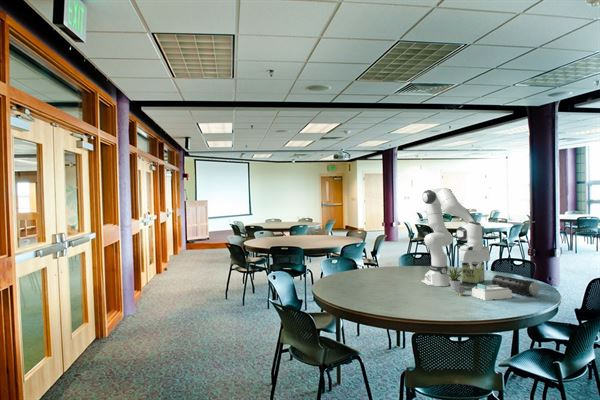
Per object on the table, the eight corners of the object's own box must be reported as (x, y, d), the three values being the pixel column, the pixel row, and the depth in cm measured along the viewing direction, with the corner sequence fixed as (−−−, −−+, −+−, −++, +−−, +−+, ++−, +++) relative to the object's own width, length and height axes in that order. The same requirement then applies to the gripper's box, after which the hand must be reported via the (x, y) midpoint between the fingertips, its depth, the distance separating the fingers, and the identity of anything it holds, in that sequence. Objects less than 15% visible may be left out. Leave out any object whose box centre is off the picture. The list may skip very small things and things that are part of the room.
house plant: (469, 292, 264) (468, 268, 264) (447, 291, 267) (447, 267, 267) (464, 287, 278) (464, 264, 278) (444, 286, 281) (443, 264, 281)
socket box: (472, 295, 253) (471, 286, 253) (497, 293, 258) (497, 284, 258) (485, 300, 242) (484, 290, 242) (511, 298, 247) (511, 288, 247)
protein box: (461, 283, 292) (461, 262, 292) (471, 280, 302) (470, 260, 302) (475, 285, 284) (475, 264, 284) (484, 282, 294) (484, 261, 294)
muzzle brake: (501, 288, 274) (500, 273, 274) (540, 297, 249) (539, 281, 249) (491, 289, 270) (491, 275, 270) (530, 298, 244) (530, 282, 244)
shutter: (477, 288, 251) (477, 283, 251) (487, 287, 253) (487, 282, 253) (485, 291, 245) (485, 285, 245) (495, 290, 246) (495, 285, 246)
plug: (455, 294, 257) (455, 285, 257) (460, 294, 258) (460, 285, 258) (459, 296, 253) (459, 286, 253) (464, 295, 254) (464, 286, 254)
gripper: (485, 245, 253) (485, 266, 253) (458, 247, 248) (458, 268, 248) (492, 246, 247) (492, 268, 247) (464, 248, 242) (464, 270, 242)
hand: (475, 268), depth 247 cm, fingers open, 3 cm apart
